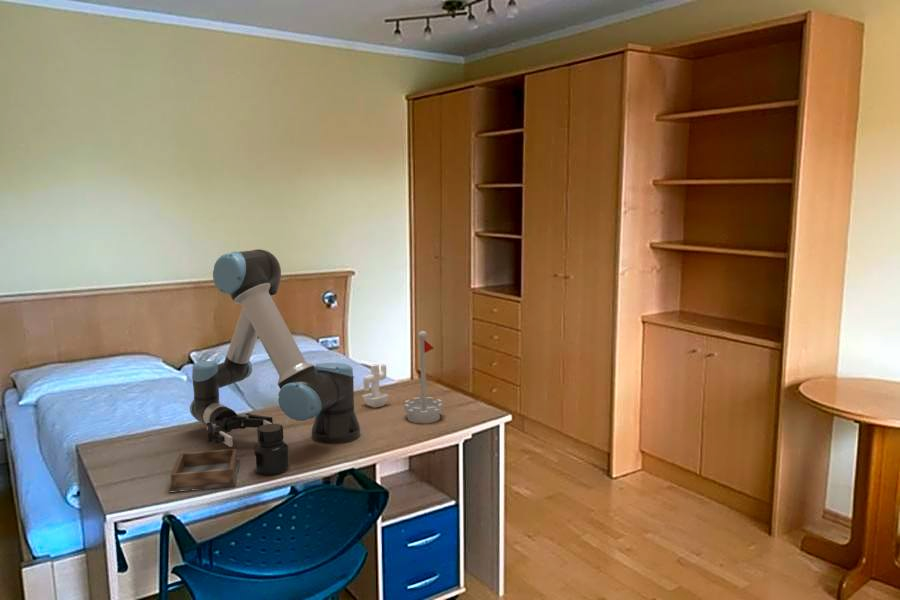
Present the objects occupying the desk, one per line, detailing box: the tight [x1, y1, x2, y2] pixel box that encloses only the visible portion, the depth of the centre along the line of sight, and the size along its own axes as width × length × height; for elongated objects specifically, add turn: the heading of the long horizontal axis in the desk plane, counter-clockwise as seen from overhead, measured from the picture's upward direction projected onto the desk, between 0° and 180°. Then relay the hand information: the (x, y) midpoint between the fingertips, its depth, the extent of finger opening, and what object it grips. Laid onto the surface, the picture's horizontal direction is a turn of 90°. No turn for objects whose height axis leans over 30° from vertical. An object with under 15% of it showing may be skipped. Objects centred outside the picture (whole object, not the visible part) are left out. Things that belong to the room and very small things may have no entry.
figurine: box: [361, 363, 390, 408], centre depth 239 cm, size 7×9×15 cm
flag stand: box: [403, 330, 444, 424], centre depth 223 cm, size 13×13×30 cm
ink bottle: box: [253, 423, 289, 476], centre depth 183 cm, size 10×9×12 cm
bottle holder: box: [169, 448, 241, 492], centre depth 178 cm, size 16×16×4 cm
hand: (253, 435), depth 190 cm, fingers open, 13 cm apart
